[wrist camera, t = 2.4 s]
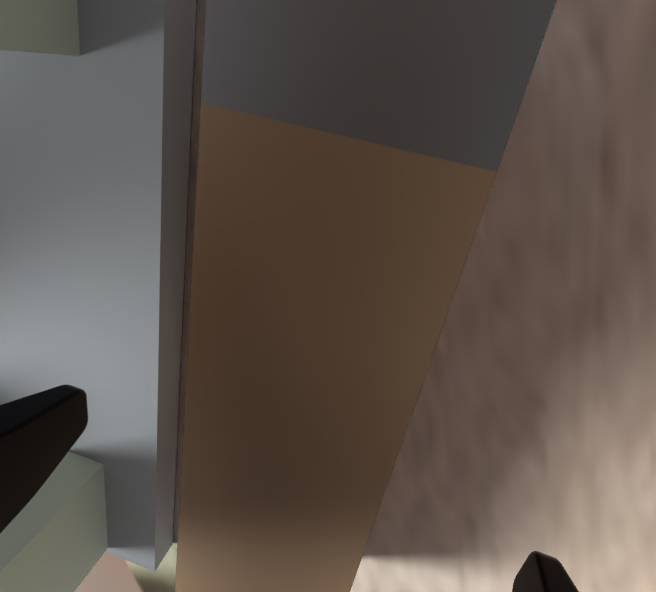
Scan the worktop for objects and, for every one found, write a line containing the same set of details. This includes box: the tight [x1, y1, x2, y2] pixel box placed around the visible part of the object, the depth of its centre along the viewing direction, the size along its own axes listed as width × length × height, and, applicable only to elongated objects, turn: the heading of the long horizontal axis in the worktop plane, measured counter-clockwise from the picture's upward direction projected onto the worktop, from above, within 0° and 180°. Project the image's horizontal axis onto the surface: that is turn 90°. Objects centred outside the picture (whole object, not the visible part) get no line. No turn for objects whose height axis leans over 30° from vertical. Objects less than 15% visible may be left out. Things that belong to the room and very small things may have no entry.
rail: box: [175, 0, 557, 592], centre depth 10 cm, size 3×16×6 cm, turn 169°
